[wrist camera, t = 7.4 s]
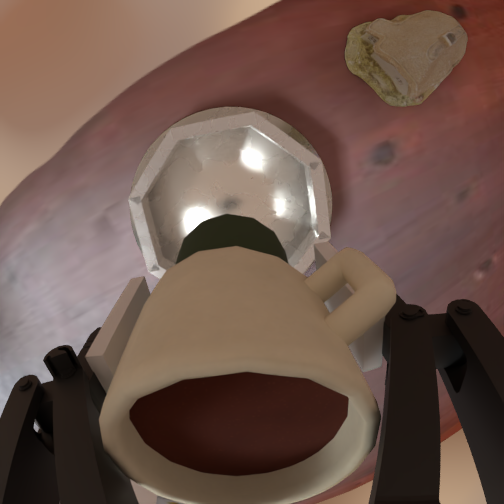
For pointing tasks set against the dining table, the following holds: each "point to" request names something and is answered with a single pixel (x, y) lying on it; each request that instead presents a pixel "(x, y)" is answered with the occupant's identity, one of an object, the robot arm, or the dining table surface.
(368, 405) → the character mug
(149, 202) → the octagonal bowl
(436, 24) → the ceramic model
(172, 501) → the tea box
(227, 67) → the dining table surface
